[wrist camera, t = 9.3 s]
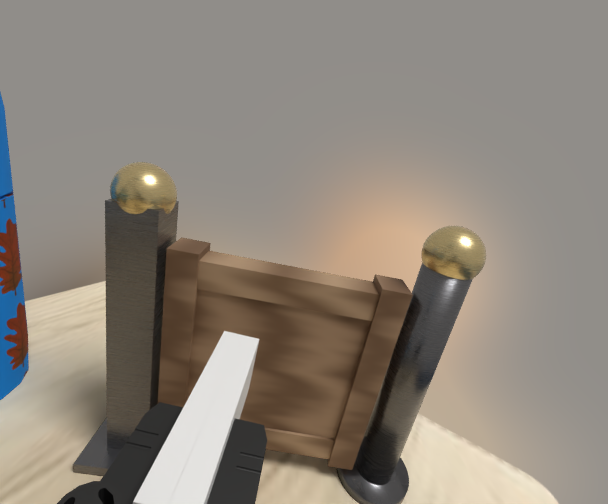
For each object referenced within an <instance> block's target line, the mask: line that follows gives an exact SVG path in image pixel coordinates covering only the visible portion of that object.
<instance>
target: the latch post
mask: <svg viewBox="0 0 608 504" xmlns="http://www.w3.org/2000/svg"><path fill="white" fill-rule="evenodd" d="M110 194H111V198H112V199H109V200H105V242H106V243H105V244H106V358H107V418H106V419H105V420H104V422H103V423H102V425H101V426H100V427H99V429H98V430H97V432H96V433H95V435H94V436H93V437H92V439H91V440H90V442H89V443H88V444H87V446H86V447H85V449H84V450H83V451H82V453H81V454H80V456H79V457H78V458H77V460H76V461H75V463H74V464H73V467H74V472H77V473H85V474H92V475H100V476H104V475H105V473H106V472H107V470H108V469H109V467H110V466H111V464H112V463H113V461H114V460H115V458H116V457H117V455H118V454H119V452H120V451H121V449H122V448H123V446H124V445H125V444H126V442H127V440H128V439H129V437H130V436H131V434H132V433H133V432H134V431H135V428H136V427H137V425H138V424H139V422H140V421H141V419H142V418H143V416H144V415H145V413H146V412H148V411H149V410H150V409H152V408H153V407H154V406H155V405H157V404H158V388H159V371H160V354H161V337H162V320H163V302H164V285H165V268H166V251H167V248H168V247H169V246H171V245H172V244H173V243H175V242H176V231H177V217H178V201H176V199H177V191H176V186H175V184H174V181H173V180H172V178H171V177H170V176H169V175H168V173H167V172H166V171H164V170H163V169H162V168H160V167H158V166H156V165H154V164H150V163H145V162H137V163H131V164H128V165H126V166H125V167H123V168H121V169H120V170H119V171H118V172H117V173H116V174H115V176H114V177H113V179H112V182H111V186H110Z"/></svg>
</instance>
